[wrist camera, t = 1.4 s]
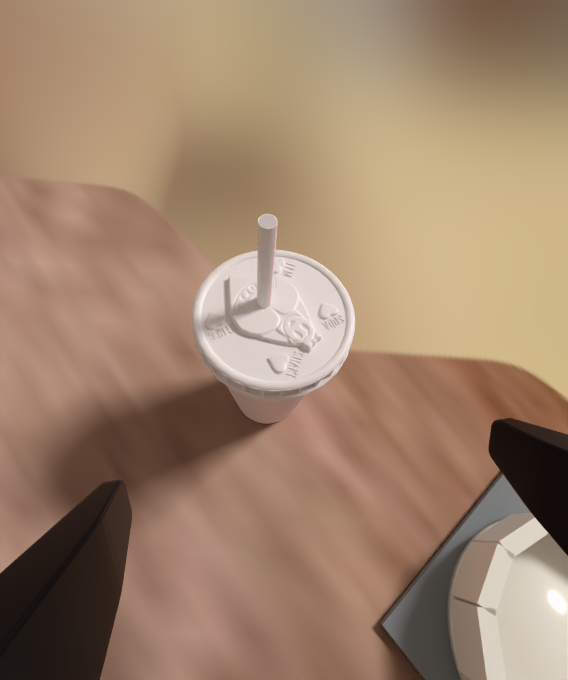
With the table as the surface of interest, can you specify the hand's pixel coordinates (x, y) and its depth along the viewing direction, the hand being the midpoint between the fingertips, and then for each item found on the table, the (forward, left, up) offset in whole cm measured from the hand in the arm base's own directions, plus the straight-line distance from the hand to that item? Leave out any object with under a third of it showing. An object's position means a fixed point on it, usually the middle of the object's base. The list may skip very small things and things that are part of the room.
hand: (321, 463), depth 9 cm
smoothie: (+6, +1, -13) cm, 14 cm away
